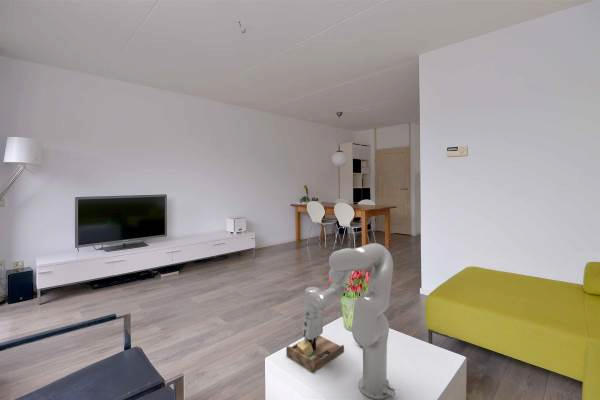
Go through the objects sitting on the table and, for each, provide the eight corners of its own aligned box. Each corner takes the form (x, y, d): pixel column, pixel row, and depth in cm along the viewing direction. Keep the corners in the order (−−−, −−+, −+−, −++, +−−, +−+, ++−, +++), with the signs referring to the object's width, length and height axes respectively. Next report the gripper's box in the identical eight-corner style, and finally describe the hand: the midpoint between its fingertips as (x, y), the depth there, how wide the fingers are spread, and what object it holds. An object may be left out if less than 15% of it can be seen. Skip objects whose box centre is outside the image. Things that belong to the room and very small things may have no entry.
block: (313, 351, 136) (310, 343, 134) (305, 358, 133) (302, 350, 132) (307, 346, 140) (304, 338, 138) (299, 353, 137) (296, 345, 136)
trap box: (343, 351, 142) (343, 342, 141) (313, 373, 126) (313, 362, 125) (317, 338, 154) (317, 329, 154) (286, 355, 138) (286, 346, 138)
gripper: (307, 320, 130) (307, 359, 131) (328, 310, 140) (328, 346, 141) (296, 315, 135) (296, 352, 136) (317, 306, 145) (317, 340, 146)
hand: (312, 349), depth 139 cm, fingers closed
